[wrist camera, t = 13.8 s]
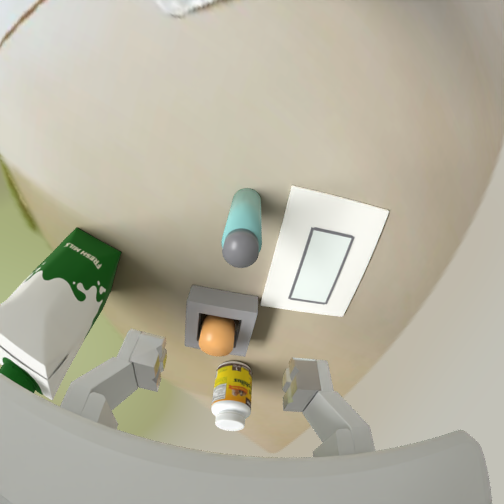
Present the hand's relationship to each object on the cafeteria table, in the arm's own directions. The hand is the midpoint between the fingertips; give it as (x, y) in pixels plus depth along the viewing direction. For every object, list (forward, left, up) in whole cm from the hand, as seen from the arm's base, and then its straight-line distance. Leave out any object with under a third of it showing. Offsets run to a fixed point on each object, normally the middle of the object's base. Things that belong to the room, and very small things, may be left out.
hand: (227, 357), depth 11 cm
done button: (+16, -1, -17) cm, 23 cm away
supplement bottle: (+27, +3, -19) cm, 33 cm away
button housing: (+16, 0, -19) cm, 25 cm away
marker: (0, 0, -19) cm, 19 cm away
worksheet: (+5, +10, -19) cm, 22 cm away
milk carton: (+11, -18, -19) cm, 29 cm away
